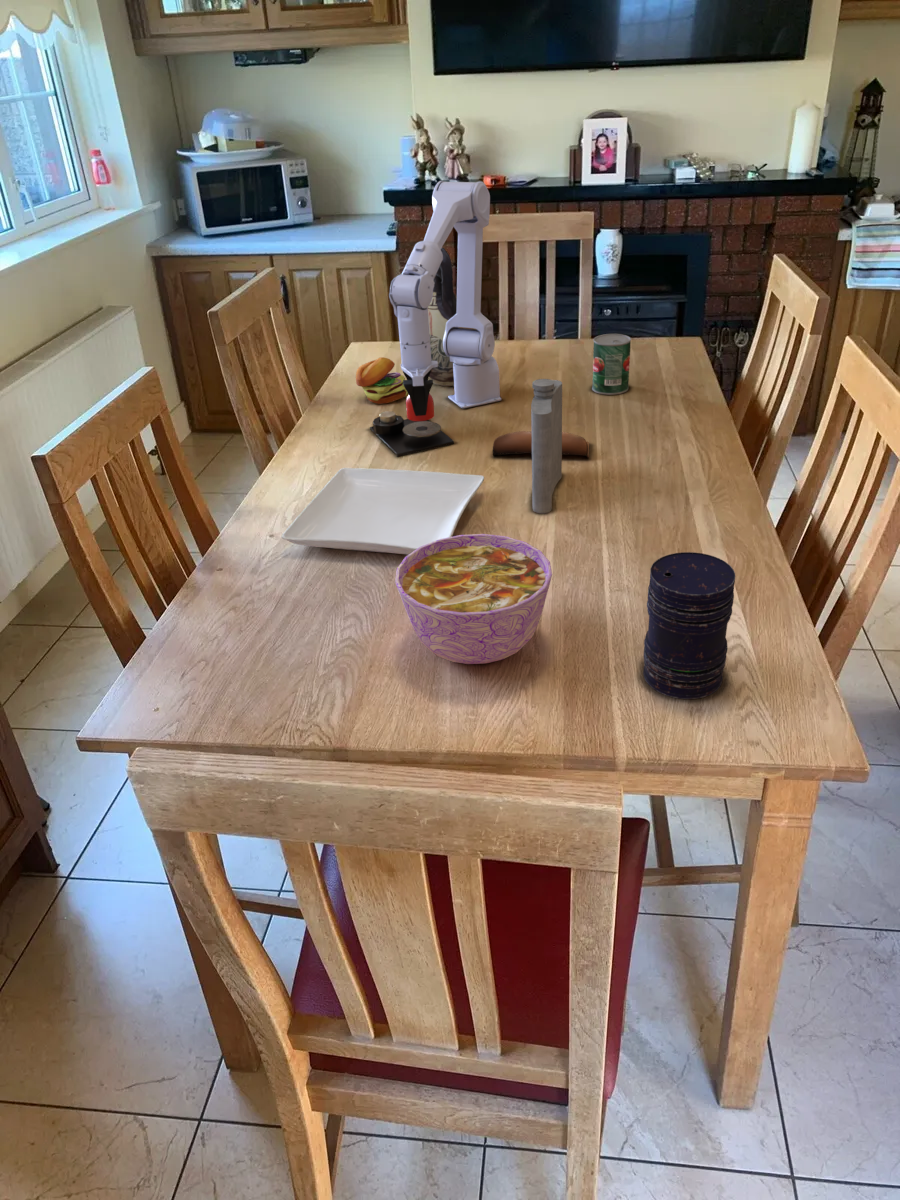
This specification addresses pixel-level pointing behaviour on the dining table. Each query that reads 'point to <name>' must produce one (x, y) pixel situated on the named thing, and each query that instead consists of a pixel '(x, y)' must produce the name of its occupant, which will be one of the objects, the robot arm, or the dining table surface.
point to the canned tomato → (611, 364)
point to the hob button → (387, 417)
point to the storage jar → (687, 624)
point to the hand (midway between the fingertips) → (420, 409)
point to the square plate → (384, 510)
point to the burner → (421, 429)
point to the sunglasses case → (523, 444)
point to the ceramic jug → (442, 321)
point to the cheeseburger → (381, 381)
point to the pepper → (424, 417)
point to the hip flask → (546, 442)
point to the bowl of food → (474, 595)
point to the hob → (406, 437)
